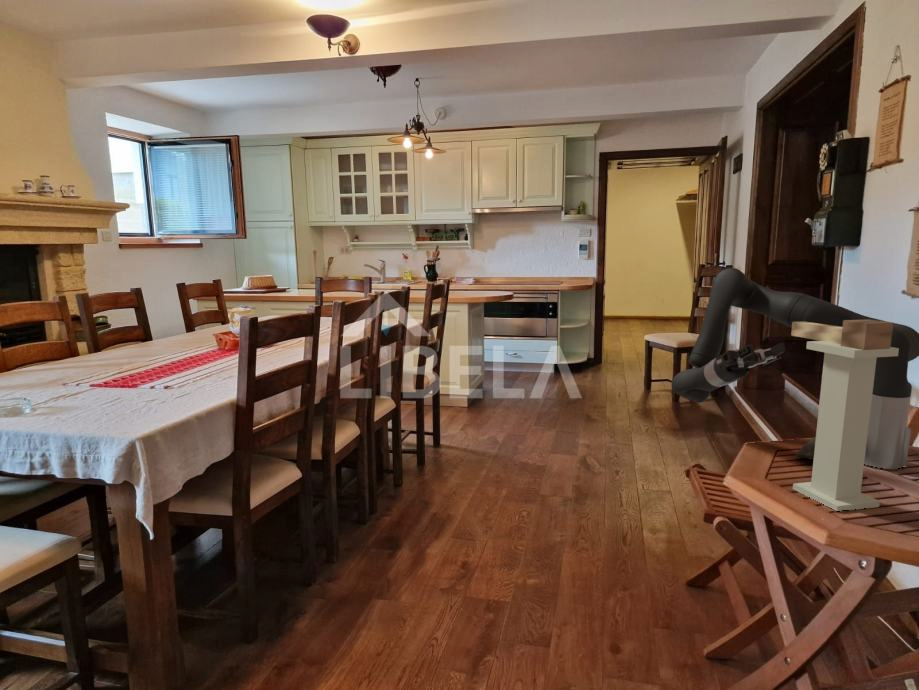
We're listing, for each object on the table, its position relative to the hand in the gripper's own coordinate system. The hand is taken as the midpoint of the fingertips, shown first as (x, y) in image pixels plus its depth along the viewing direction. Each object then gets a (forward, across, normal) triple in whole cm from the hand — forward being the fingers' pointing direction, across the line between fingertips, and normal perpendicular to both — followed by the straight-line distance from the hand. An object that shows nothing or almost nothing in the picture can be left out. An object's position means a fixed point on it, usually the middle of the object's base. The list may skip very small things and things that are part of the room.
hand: (768, 347), depth 131 cm
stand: (+5, 0, +35) cm, 35 cm away
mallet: (+17, 0, +5) cm, 18 cm away
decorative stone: (-13, +16, +25) cm, 33 cm away
